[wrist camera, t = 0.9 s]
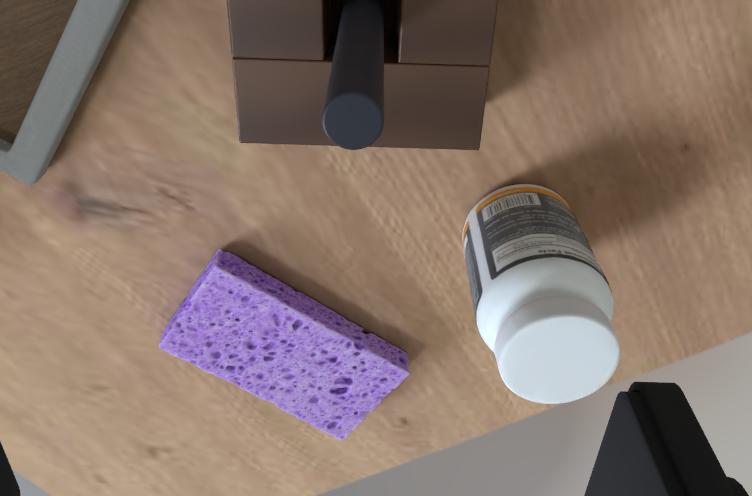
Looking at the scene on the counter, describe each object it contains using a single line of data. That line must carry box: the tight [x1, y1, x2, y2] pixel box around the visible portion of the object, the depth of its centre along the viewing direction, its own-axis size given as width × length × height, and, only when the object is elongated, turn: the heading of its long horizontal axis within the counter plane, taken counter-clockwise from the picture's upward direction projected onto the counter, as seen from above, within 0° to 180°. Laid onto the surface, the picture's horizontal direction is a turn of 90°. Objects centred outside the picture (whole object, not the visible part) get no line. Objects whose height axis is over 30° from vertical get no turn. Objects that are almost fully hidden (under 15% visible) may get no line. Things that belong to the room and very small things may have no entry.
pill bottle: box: [462, 184, 620, 404], centre depth 30 cm, size 6×6×10 cm
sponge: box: [159, 249, 410, 440], centre depth 37 cm, size 7×13×2 cm, turn 54°
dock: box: [227, 0, 498, 150], centre depth 26 cm, size 10×10×4 cm
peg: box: [322, 0, 384, 150], centre depth 22 cm, size 2×2×13 cm
